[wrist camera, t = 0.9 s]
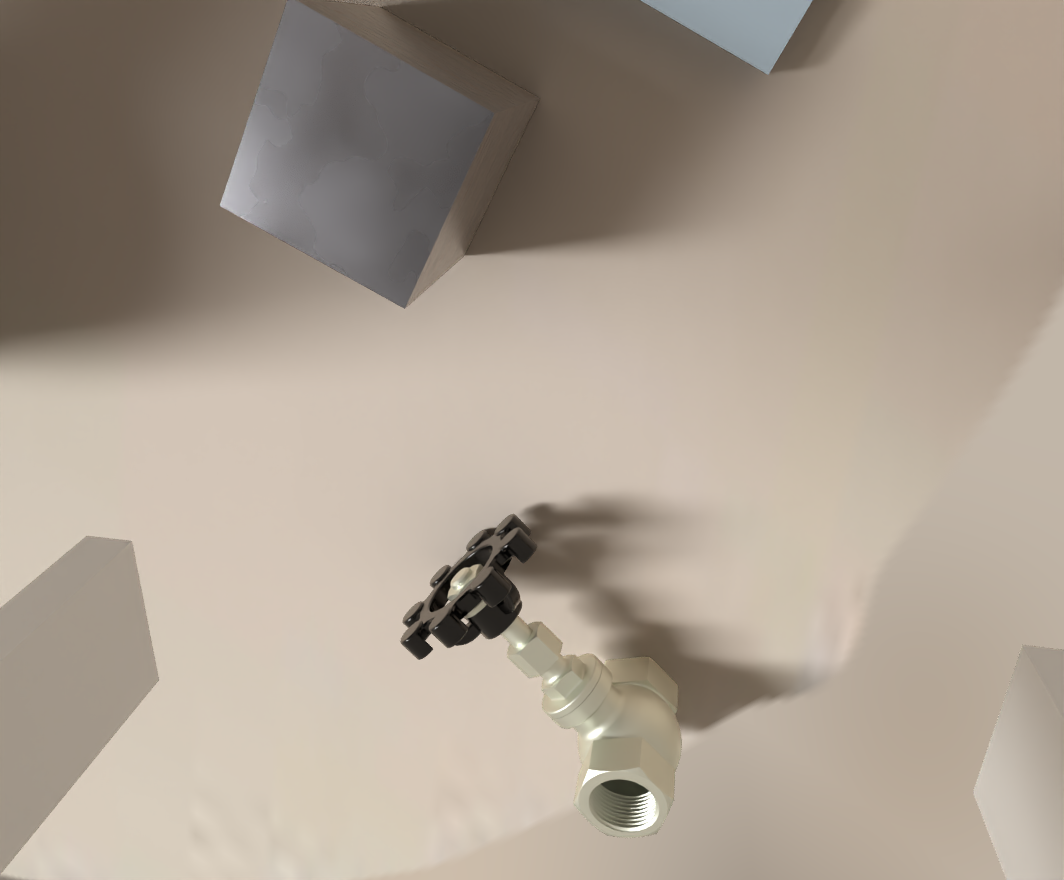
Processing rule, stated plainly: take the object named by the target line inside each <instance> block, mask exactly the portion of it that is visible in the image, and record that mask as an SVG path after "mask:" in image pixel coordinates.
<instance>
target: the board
mask: <svg viewBox="0 0 1064 880" xmlns="http://www.w3.org/2000/svg"><path fill="white" fill-rule="evenodd" d="M640 1H642V2H644V3H645V4H647V5H649V6H650V7H652V8H654V9H656V10H657V11H659V12H661V13H662V14H664V15H666V16H668V17H669V18H671V19H673V20H674V21H676V22H678V23H680V24H681V25H683V26H685V27H686V28H688V29H690V30H692V31H693V32H695V33H697V34H698V35H700V36H702V37H704V38H705V39H707V40H709V41H711V42H712V43H714V44H716V45H717V46H719V47H721V48H723V49H724V50H726V51H728V52H729V53H731V54H733V55H735V56H736V57H738V58H740V59H741V60H743V61H745V62H747V63H748V64H750V65H752V66H753V67H755V68H757V69H759V70H760V71H762V72H764V73H765V74H768V75H769V73H770V71H771V70H772V68H773V66H774V65H775V63H776V61H777V60H778V58H779V56H780V54H781V53H782V51H783V49H784V48H785V46H786V44H787V43H788V41H789V39H790V38H791V36H792V34H793V33H794V31H795V29H796V28H797V26H798V24H799V23H800V21H801V19H802V17H803V16H804V14H805V12H806V11H807V9H808V7H809V6H810V4H811V2H812V1H813V0H640Z"/></svg>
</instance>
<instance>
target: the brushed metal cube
mask: <svg viewBox="0 0 1064 880" xmlns="http://www.w3.org/2000/svg"><path fill="white" fill-rule="evenodd" d="M539 99H540V98H538V97H536V96H535V95H533V94H531V93H530V92H528V91H526V90H524V89H523V88H521V87H519V86H517V85H516V84H514V83H512V82H510V81H509V80H507V79H505V78H503V77H502V76H500V75H498V74H496V73H495V72H493V71H491V70H489V69H488V68H486V67H484V66H482V65H481V64H479V63H477V62H475V61H474V60H472V59H470V58H468V57H467V56H465V55H463V54H461V53H460V52H458V51H456V50H455V49H453V48H451V47H449V46H448V45H446V44H444V43H442V42H441V41H439V40H437V39H435V38H434V37H432V36H430V35H428V34H427V33H425V32H423V31H421V30H420V29H418V28H416V27H414V26H413V25H411V24H409V23H407V22H406V21H404V20H402V19H400V18H399V17H397V16H395V15H393V14H392V13H390V12H388V11H386V10H385V9H383V8H381V7H379V6H370V5H362V4H353V3H345V2H336V1H328V0H287V2H286V5H285V8H284V11H283V15H282V18H281V21H280V24H279V27H278V30H277V33H276V36H275V39H274V42H273V45H272V48H271V51H270V54H269V57H268V60H267V63H266V66H265V69H264V72H263V75H262V79H261V82H260V85H259V88H258V91H257V94H256V97H255V100H254V103H253V106H252V109H251V112H250V115H249V118H248V121H247V124H246V127H245V130H244V133H243V136H242V139H241V142H240V146H239V149H238V152H237V155H236V158H235V161H234V164H233V167H232V170H231V173H230V176H229V179H228V182H227V185H226V188H225V191H224V194H223V197H222V200H221V203H220V206H221V207H223V208H224V209H226V210H228V211H230V212H232V213H233V214H235V215H237V216H239V217H241V218H242V219H244V220H246V221H248V222H250V223H251V224H253V225H255V226H257V227H259V228H260V229H262V230H264V231H266V232H268V233H269V234H271V235H273V236H275V237H277V238H278V239H280V240H282V241H284V242H286V243H287V244H289V245H291V246H293V247H295V248H296V249H298V250H300V251H302V252H304V253H305V254H307V255H309V256H311V257H313V258H314V259H316V260H318V261H320V262H322V263H323V264H325V265H327V266H329V267H331V268H332V269H334V270H336V271H338V272H340V273H341V274H343V275H345V276H347V277H349V278H350V279H352V280H354V281H356V282H358V283H359V284H361V285H363V286H365V287H367V288H368V289H370V290H372V291H374V292H376V293H377V294H379V295H381V296H383V297H385V298H386V299H388V300H390V301H392V302H394V303H395V304H397V305H399V306H401V307H403V308H404V309H405V308H406V307H407V306H408V305H410V304H411V303H412V302H413V301H414V300H415V299H416V298H417V297H419V296H420V295H421V294H422V293H423V292H424V291H425V290H426V289H428V288H429V287H430V286H431V285H432V284H433V283H434V282H435V281H437V280H438V279H439V278H440V277H441V276H442V275H443V274H444V273H446V272H447V271H448V270H449V269H450V268H451V267H452V266H453V265H455V264H456V263H457V262H458V261H459V260H460V259H461V258H463V257H464V255H465V253H466V251H467V249H468V247H469V245H470V243H471V241H472V239H473V237H474V235H475V232H476V230H477V228H478V226H479V224H480V222H481V220H482V218H483V216H484V214H485V212H486V210H487V208H488V205H489V203H490V201H491V199H492V197H493V195H494V193H495V191H496V189H497V187H498V185H499V183H500V180H501V178H502V176H503V174H504V172H505V170H506V168H507V166H508V164H509V162H510V160H511V158H512V155H513V153H514V151H515V149H516V147H517V145H518V143H519V141H520V139H521V137H522V135H523V133H524V130H525V128H526V126H527V124H528V122H529V120H530V118H531V116H532V114H533V112H534V110H535V108H536V106H537V103H538V101H539Z"/></svg>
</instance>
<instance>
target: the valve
mask: <svg viewBox="0 0 1064 880" xmlns="http://www.w3.org/2000/svg"><path fill="white" fill-rule="evenodd" d="M530 533H531V530H530V529H529V528H528V527H527V526H526V525H525V524H524V523H523V522H522V521H521V520H520V519H519V518H518V517H517V516H516V515H515V514H511V515H509V516H508V517H506V518H505V519H504V520H503V521H502V522H501V523H500V524H499V525H498V527H497V528H496V530H495V534H494V535H493V536H491V535H490V534H489V533H488V532H487V531H486V530H482V531H480V532H479V533H478V534H476V535H475V536H474V537H473V538H472V539H471V541H470V542H469V543H468V545H467V547H466V549H467V553H466V554H465V555H464V556H463V557H462V558H461V559H460V560H459V561H458V562H457V563H456V564H455V565H454V566H453V567H450V566H449V565H445V566H444V567H442V568H441V569H440V570H439V571H438V572H437V573H436V574H435V575H434V576H433V577H432V579H431V581H430V586H431V587H432V588H433V591H432V592H431V594H430V595H429V596H428V598H427V599H426V600H425V601H424V602H418V603H416V604H415V605H414V606H413V607H412V608H411V609H410V610H409V611H408V612H407V613H406V615H405V616H404V618H403V624H404V625H406V626H407V627H408V629H407V631H406V632H405V633H404V635H403V636H402V638H401V641H400V642H401V644H402V645H403V646H404V647H405V648H406V649H407V650H408V651H409V652H410V653H412V654H413V655H414V656H415V657H416V658H417V659H418V660H420V659H423V658H424V657H426V656H427V655H428V654H429V653H430V652H431V651H432V650H433V648H432V647H431V646H430V645H429V644H428V643H427V642H426V641H425V640H426V639H427V638H428V636H429V635H430V634H431V633H432V634H433V635H434V636H435V637H436V638H437V639H438V640H439V641H440V642H441V643H442V644H444V645H445V646H446V647H447V648H451V647H453V646H454V645H456V646H459V645H464V644H467V643H469V642H471V641H473V640H474V639H475V638H476V637H478V636H479V634H480V633H481V634H482V635H483V636H484V637H485V638H486V639H493V638H495V637H497V636H499V635H500V634H501V635H502V636H503V637H504V638H505V639H506V640H507V641H508V642H509V643H510V645H509V648H508V652H507V658H508V659H510V660H511V661H512V662H513V663H514V664H515V665H516V666H517V667H518V668H519V669H520V670H521V671H522V672H523V673H524V674H525V675H526V676H527V677H528V678H533V677H539V676H541V677H542V678H543V681H542V691H543V692H544V693H545V694H544V697H543V700H542V709H543V711H544V712H545V713H546V714H547V715H548V716H549V717H550V718H551V719H552V720H553V721H554V722H555V723H556V724H557V725H558V726H560V727H561V728H564V729H570V728H574V729H575V730H576V731H577V732H578V752H579V757H580V761H581V764H582V767H581V770H580V772H579V774H578V780H577V786H576V792H575V798H574V803H573V804H574V806H575V807H576V808H577V809H578V811H579V812H580V813H581V814H582V815H583V816H584V817H585V818H586V820H587V821H589V823H590V824H592V825H593V826H594V827H595V828H597V829H598V830H599V831H601V832H602V833H604V834H606V835H608V836H613V837H622V838H635V837H644V836H649V835H654V834H657V832H658V831H659V830H660V828H661V826H662V824H663V823H664V821H665V819H666V817H667V815H668V813H669V811H670V808H671V806H672V803H673V801H674V785H675V771H676V769H677V767H678V764H679V760H680V756H681V748H682V739H681V732H680V727H679V724H678V721H677V719H676V716H675V714H676V712H677V707H678V685H677V684H676V683H675V682H674V680H673V679H672V678H671V677H670V676H669V675H668V674H667V673H666V672H665V671H664V670H663V669H662V668H661V667H660V666H659V665H658V664H657V663H656V662H655V661H654V660H653V659H651V658H650V657H635V658H623V659H612V660H606V661H605V663H604V664H603V663H602V662H601V661H600V660H599V659H598V658H597V657H596V656H595V655H593V654H584V655H581V656H579V657H577V656H576V655H566V656H562V655H561V654H560V652H561V648H562V644H563V642H561V641H560V640H559V639H558V638H557V637H556V636H555V635H554V634H553V633H552V632H551V631H550V630H549V629H548V628H547V627H546V626H545V625H544V624H543V623H542V622H532V623H530V624H528V625H527V624H526V623H525V622H524V621H523V620H522V619H521V618H520V617H519V616H518V615H519V613H520V611H521V608H522V601H521V600H520V594H519V591H518V590H517V588H516V587H515V585H514V584H513V583H512V582H511V581H510V580H509V579H508V578H507V577H506V576H505V575H504V572H505V570H506V569H507V567H508V565H509V563H510V561H511V559H512V557H513V556H516V557H517V558H518V559H519V560H520V561H521V562H522V563H525V562H526V561H527V560H528V559H529V558H530V557H531V556H532V555H533V553H534V552H535V550H536V548H537V545H536V543H535V542H534V541H533V540H532V539H531V538H530V537H529V535H530ZM448 600H450V601H451V602H450V603H449V604H447V605H446V606H445V604H446V603H447V601H448ZM462 618H465V619H466V620H467V621H468V624H467V625H465V624H464V623H463V622H462V621H461V619H462Z"/></svg>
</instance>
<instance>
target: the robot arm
mask: <svg viewBox="0 0 1064 880" xmlns="http://www.w3.org/2000/svg"><path fill="white" fill-rule="evenodd" d="M158 681H159V677H158V672H157V667H156V662H155V657H154V652H153V647H152V641H151V636H150V631H149V626H148V621H147V616H146V611H145V605H144V600H143V595H142V590H141V585H140V580H139V575H138V569H137V564H136V559H135V554H134V549H133V544H132V541H127V540H118V539H110V538H101V537H93V536H86V537H85V538H84V539H82V540H81V541H80V542H79V543H78V544H76V545H75V546H74V547H73V548H72V549H71V550H69V551H68V552H67V553H66V554H65V555H63V556H62V557H61V558H60V559H59V560H57V561H56V562H55V563H54V564H53V565H51V566H50V567H49V568H48V569H47V570H45V571H44V572H43V573H42V574H41V575H39V576H38V577H37V578H36V579H35V580H33V581H32V582H31V583H30V584H29V585H27V586H26V587H25V588H24V589H23V590H22V591H20V592H19V593H18V594H17V595H16V596H14V597H13V598H12V599H11V600H10V601H8V602H7V603H6V604H5V605H4V606H2V607H1V608H0V874H1V873H2V872H3V871H4V869H5V868H6V867H7V866H8V864H9V863H10V862H11V861H12V859H13V858H14V857H15V856H16V855H17V853H18V852H19V851H20V850H21V848H22V847H23V846H24V845H25V844H26V842H27V841H28V840H29V839H30V837H31V836H32V835H33V834H34V833H35V831H36V830H37V829H38V828H39V826H40V825H41V824H42V823H43V821H44V820H45V819H46V818H47V817H48V815H49V814H50V813H51V812H52V810H53V809H54V808H55V807H56V806H57V804H58V803H59V802H60V801H61V799H62V798H63V797H64V796H65V795H66V793H67V792H68V791H69V790H70V788H71V787H72V786H73V785H74V783H75V782H76V781H77V780H78V779H79V777H80V776H81V775H82V774H83V772H84V771H85V770H86V769H87V768H88V766H89V765H90V764H91V763H92V761H93V760H94V759H95V758H96V757H97V755H98V754H99V753H100V752H101V750H102V749H103V748H104V747H105V745H106V744H107V743H108V742H109V741H110V739H111V738H112V737H113V736H114V734H115V733H116V732H117V731H118V730H119V728H120V727H121V726H122V725H123V723H124V722H125V721H126V720H127V719H128V717H129V716H130V715H131V714H132V712H133V711H134V710H135V709H136V708H137V706H138V705H139V704H140V703H141V701H142V700H143V699H144V698H145V696H146V695H147V694H148V693H149V692H150V690H151V689H152V688H153V687H154V685H155V684H156V683H157V682H158ZM973 794H974V797H975V799H976V802H977V804H978V807H979V809H980V812H981V815H982V817H983V820H984V823H985V825H986V828H987V831H988V833H989V836H990V838H991V841H992V844H993V846H994V849H995V852H996V854H997V857H998V859H999V862H1000V865H1001V867H1002V870H1003V873H1004V875H1005V878H1006V880H1064V650H1062V649H1053V648H1044V647H1036V646H1027V645H1022V648H1021V651H1020V654H1019V657H1018V660H1017V663H1016V666H1015V669H1014V672H1013V674H1012V677H1011V681H1010V683H1009V687H1008V690H1007V692H1006V695H1005V698H1004V702H1003V705H1002V707H1001V710H1000V713H999V716H998V719H997V722H996V725H995V729H994V731H993V734H992V737H991V740H990V743H989V746H988V749H987V752H986V755H985V758H984V761H983V765H982V767H981V770H980V773H979V776H978V779H977V782H976V785H975V788H974V791H973Z"/></svg>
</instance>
